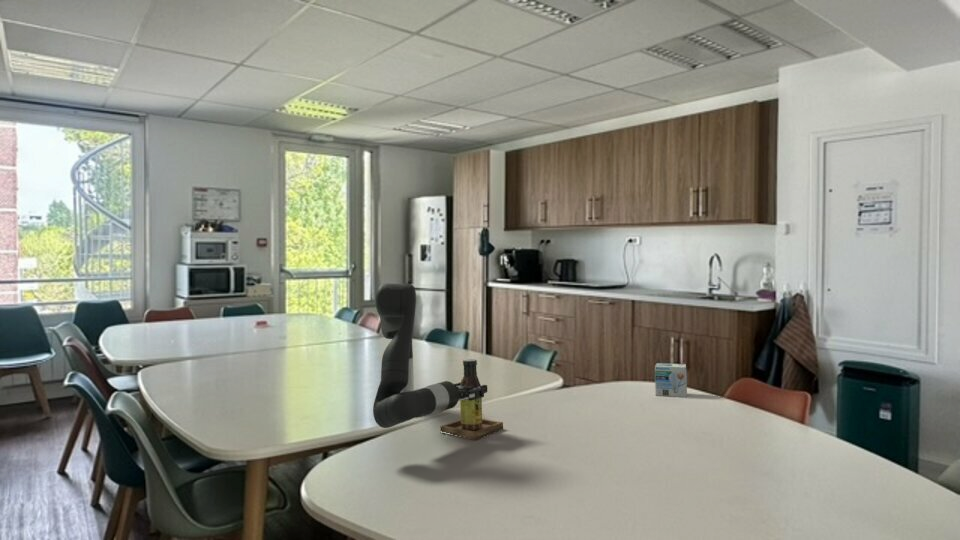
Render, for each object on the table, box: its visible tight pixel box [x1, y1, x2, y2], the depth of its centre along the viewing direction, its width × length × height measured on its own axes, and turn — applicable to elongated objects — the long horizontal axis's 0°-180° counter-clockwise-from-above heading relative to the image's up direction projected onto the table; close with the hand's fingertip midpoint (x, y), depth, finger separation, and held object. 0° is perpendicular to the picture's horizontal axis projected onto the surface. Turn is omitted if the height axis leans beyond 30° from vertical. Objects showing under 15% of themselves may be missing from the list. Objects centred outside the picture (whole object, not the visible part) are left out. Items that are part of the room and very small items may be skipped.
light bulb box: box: [654, 362, 688, 398], centre depth 200 cm, size 11×7×11 cm, turn 68°
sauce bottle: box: [459, 359, 483, 431], centre depth 161 cm, size 6×6×20 cm
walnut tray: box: [439, 418, 504, 441], centre depth 161 cm, size 13×13×2 cm
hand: (474, 387), depth 163 cm, fingers open, 8 cm apart
